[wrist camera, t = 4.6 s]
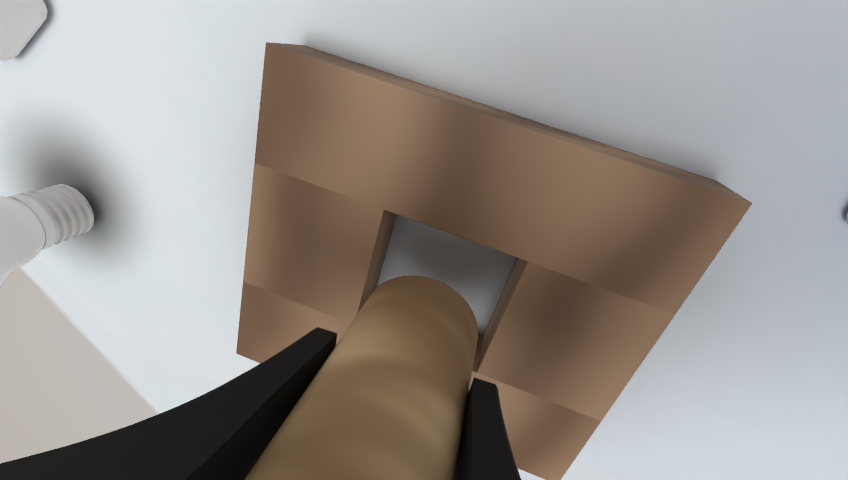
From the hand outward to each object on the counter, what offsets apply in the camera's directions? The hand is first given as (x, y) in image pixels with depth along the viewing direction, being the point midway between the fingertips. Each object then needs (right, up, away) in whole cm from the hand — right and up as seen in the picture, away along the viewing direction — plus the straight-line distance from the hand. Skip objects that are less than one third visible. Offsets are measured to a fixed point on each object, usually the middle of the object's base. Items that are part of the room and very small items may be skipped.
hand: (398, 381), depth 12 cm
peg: (+1, +1, +2) cm, 3 cm away
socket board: (+2, +3, +6) cm, 7 cm away
